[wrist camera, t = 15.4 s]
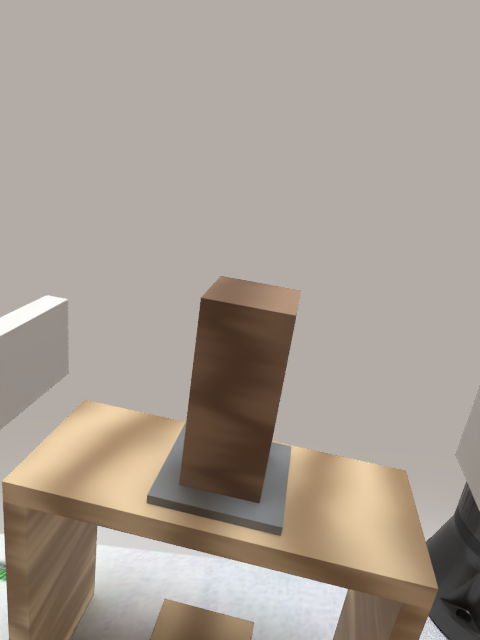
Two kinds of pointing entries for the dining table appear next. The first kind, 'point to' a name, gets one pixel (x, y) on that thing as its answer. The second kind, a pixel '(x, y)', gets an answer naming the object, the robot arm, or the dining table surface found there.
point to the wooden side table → (208, 528)
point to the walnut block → (236, 386)
